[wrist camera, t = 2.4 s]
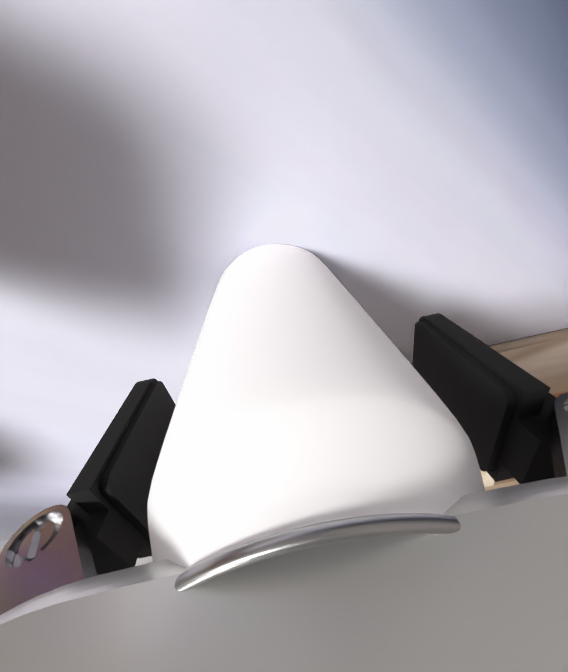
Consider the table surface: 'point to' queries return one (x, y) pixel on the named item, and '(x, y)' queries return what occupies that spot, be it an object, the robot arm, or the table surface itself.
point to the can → (299, 428)
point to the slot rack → (536, 371)
